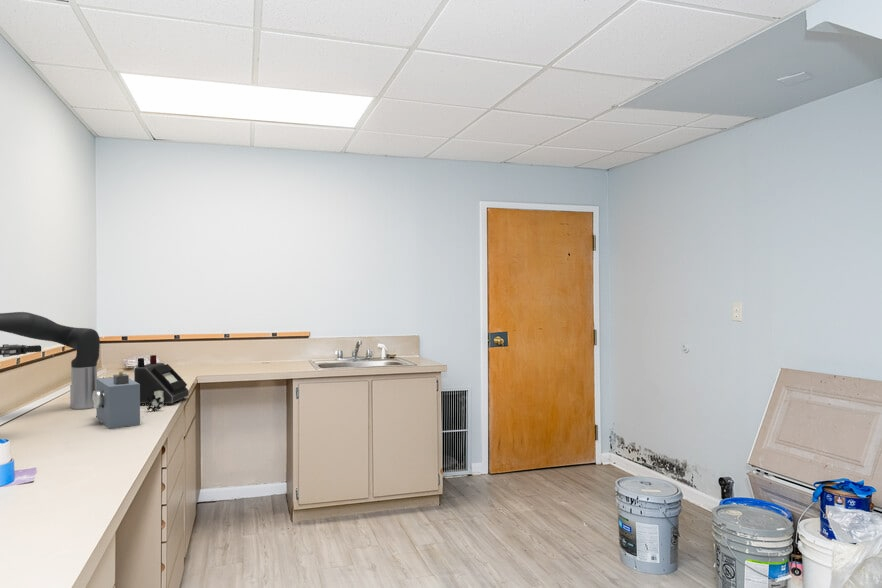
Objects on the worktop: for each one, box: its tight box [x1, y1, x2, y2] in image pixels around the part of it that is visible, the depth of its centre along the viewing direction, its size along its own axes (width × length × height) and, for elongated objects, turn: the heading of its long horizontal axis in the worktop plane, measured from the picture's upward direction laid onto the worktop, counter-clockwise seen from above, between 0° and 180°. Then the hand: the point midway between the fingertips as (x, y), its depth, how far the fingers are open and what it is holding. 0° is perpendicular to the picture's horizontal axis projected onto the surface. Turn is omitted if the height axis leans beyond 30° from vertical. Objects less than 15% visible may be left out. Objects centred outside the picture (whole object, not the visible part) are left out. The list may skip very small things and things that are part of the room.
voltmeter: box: [133, 354, 190, 406], centre depth 256 cm, size 16×16×20 cm
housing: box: [95, 377, 141, 430], centre depth 220 cm, size 24×10×15 cm, turn 40°
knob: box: [92, 390, 104, 409], centre depth 218 cm, size 6×9×6 cm
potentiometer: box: [113, 369, 130, 385], centre depth 215 cm, size 5×4×5 cm
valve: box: [144, 391, 164, 412], centre depth 242 cm, size 7×7×12 cm
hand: (40, 348), depth 204 cm, fingers closed
